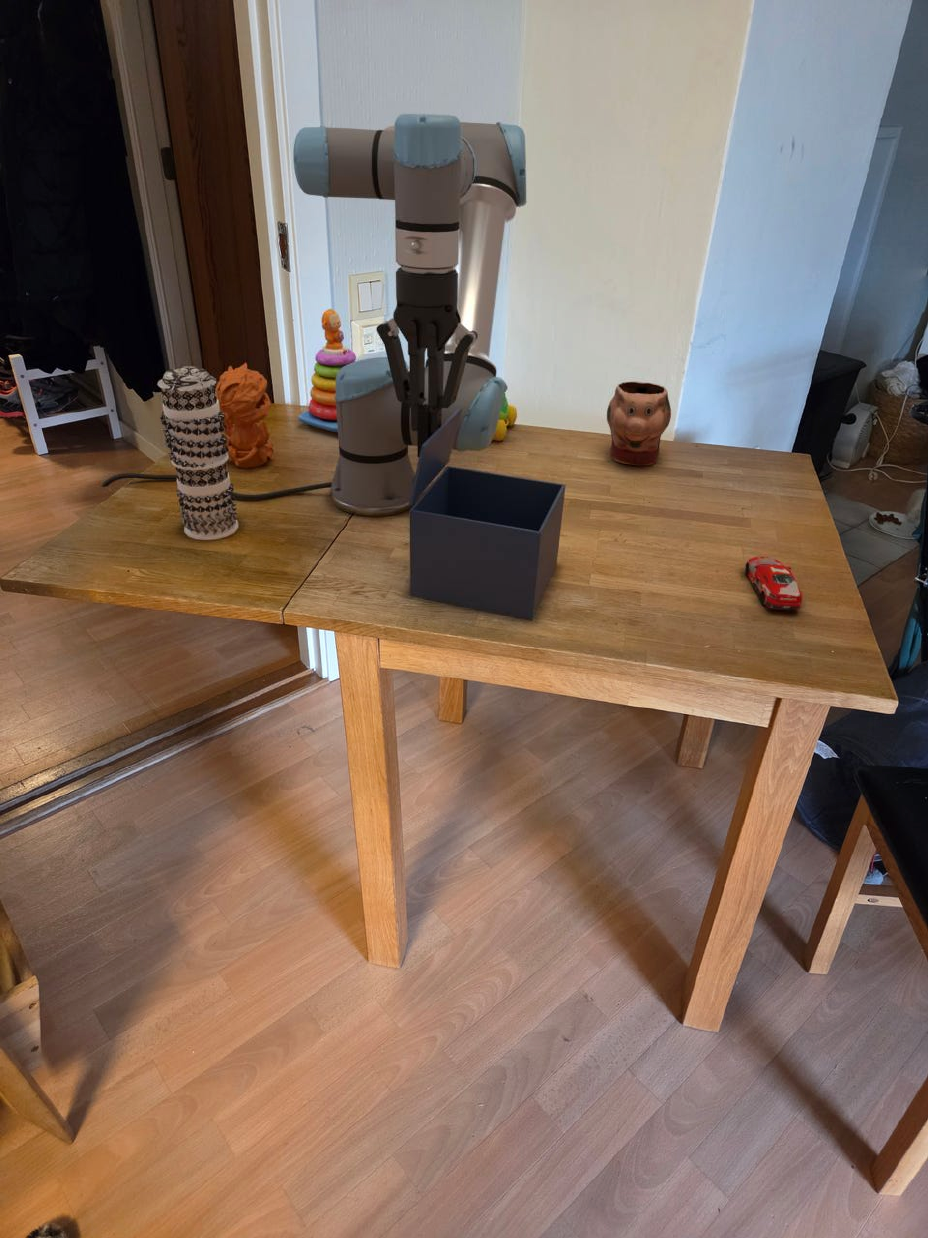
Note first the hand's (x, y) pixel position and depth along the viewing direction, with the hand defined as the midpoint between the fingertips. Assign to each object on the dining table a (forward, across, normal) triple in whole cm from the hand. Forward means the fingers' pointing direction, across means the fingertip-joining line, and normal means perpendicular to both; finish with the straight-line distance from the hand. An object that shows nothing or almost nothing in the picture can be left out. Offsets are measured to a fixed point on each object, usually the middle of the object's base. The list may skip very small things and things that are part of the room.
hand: (426, 454), depth 106 cm
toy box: (+18, +9, 0) cm, 20 cm away
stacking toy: (+18, -38, +50) cm, 65 cm away
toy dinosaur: (+18, -45, +26) cm, 55 cm away
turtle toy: (+18, -11, +56) cm, 60 cm away
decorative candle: (+18, -37, 0) cm, 41 cm away
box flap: (0, +2, 0) cm, 2 cm away
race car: (+18, +49, +13) cm, 54 cm away
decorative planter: (+18, +23, +58) cm, 64 cm away
